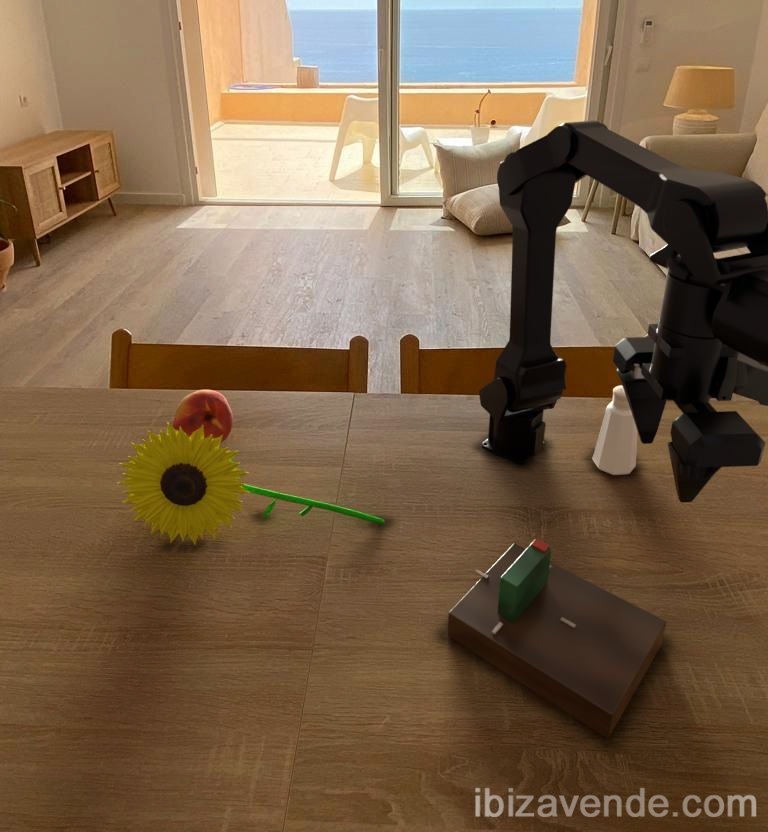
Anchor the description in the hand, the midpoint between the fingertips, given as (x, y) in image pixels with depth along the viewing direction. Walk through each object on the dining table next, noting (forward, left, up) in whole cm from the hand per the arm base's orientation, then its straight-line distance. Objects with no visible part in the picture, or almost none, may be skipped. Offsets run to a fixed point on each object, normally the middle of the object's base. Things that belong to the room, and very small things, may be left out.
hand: (664, 470), depth 67 cm
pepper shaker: (-10, +16, -14) cm, 24 cm away
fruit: (-55, -15, -14) cm, 59 cm away
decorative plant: (-36, -22, -14) cm, 44 cm away
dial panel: (-3, -14, -13) cm, 19 cm away
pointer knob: (-7, -14, -10) cm, 18 cm away
